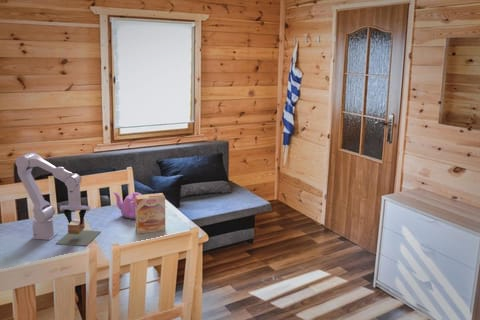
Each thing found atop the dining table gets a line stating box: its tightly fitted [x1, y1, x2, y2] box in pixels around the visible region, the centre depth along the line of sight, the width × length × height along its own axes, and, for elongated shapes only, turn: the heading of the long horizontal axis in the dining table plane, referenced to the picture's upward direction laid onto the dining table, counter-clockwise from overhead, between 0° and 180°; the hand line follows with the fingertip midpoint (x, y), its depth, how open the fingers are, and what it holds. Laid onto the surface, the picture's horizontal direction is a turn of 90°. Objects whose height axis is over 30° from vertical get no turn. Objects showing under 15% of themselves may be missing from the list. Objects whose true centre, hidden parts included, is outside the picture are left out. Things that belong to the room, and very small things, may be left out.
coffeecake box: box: [135, 192, 166, 235], centre depth 251 cm, size 15×7×20 cm, turn 112°
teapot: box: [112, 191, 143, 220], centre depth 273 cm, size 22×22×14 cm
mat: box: [55, 229, 102, 247], centre depth 241 cm, size 16×18×1 cm
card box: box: [67, 217, 86, 234], centre depth 238 cm, size 10×5×5 cm, turn 1°
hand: (76, 223), depth 238 cm, fingers closed on card box, 5 cm apart
